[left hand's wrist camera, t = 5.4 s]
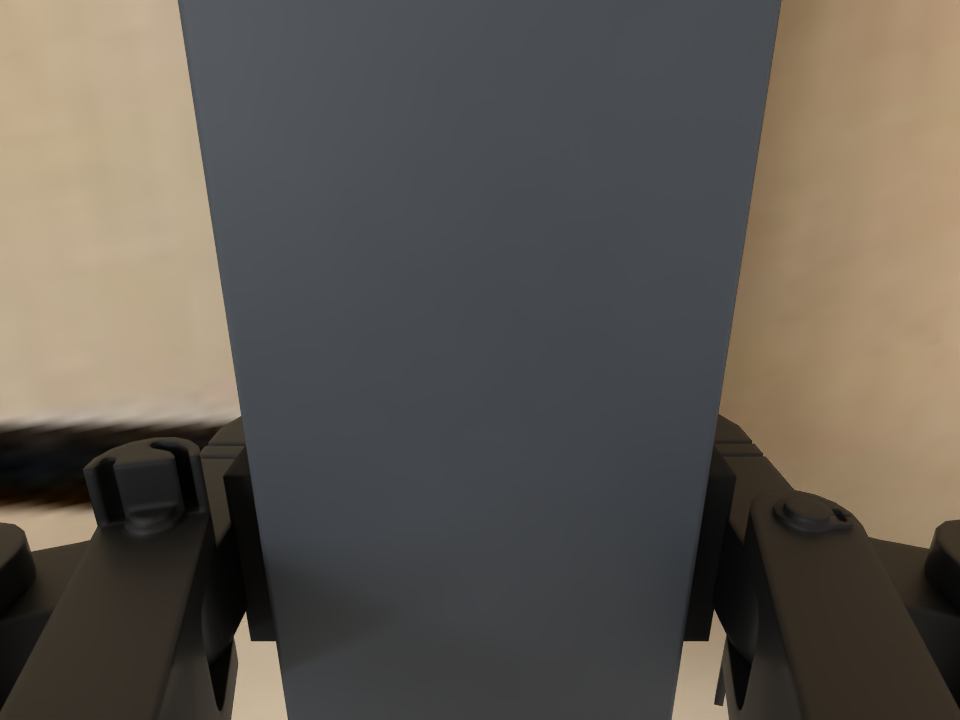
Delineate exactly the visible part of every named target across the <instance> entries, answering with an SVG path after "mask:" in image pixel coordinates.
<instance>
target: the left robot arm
mask: <svg viewBox="0 0 960 720" xmlns="http://www.w3.org/2000/svg"><path fill="white" fill-rule="evenodd" d="M83 472H84V476H85V480H86V484H87V487H88V491H89V495H90V499H91V503H92V506H93V510H94V514H95V518H96V521H97V525H98V527H97V529H96V531H95V533H94V534H93V536H92V538H91V540H88V541H84V542H80V543H75V544H70V545H65V546H59V547H54V548H49V549H43V550H38V551H33V552H31V551H30V548H29V545H28V541H27V538H26V535H25V532H24V531H23V530H22V529H21V528H19V527H18V526H16V525H15V524H8V523H0V720H231V715H232V708H233V700H234V692H235V685H236V677H237V669H238V658H237V651H236V646H235V640H234V634H235V632H236V630H237V628H238V626H239V624H240V622H241V620H242V618H243V616H244V614H245V612H246V614H247V620H248V626H249V632H250V637H251V641H276V637H275V631H274V624H273V618H272V611H271V605H270V598H269V592H268V585H267V579H266V572H265V566H264V559H263V553H262V546H261V540H260V533H259V526H258V520H257V513H256V507H255V500H254V494H253V487H252V481H251V474H250V468H249V461H248V455H247V448H246V442H245V435H244V429H243V422H242V416H241V417H239V418H237V419H236V420H234V421H232V422H230V423H229V424H227V425H225V426H224V427H222V428H221V429H220V430H219V431H218V432H217V433H216V434H215V436H214V437H213V438H212V439H211V440H210V441H209V443H208V446H205V447H204V448H203V450H202V451H201V452H200V451H199V446H197V445H196V444H194V443H193V442H192V441H190V440H186V439H181V438H176V437H163V438H150V439H145V440H140V441H134V442H131V443H128V444H125V445H122V446H119V447H116V448H113V449H111V450H109V451H107V452H105V453H103V454H101V455H99V456H98V457H96V458H94V459H93V460H92V461H91V462H90V463H89V464H88V465H87V466H86V467H85V468H83ZM714 609H715V611H716V613H717V616H718V618H719V620H720V622H721V624H722V626H723V628H724V630H725V632H726V634H727V635H726V640H725V646H724V651H723V657H722V662H721V668H720V673H719V678H718V684H717V689H716V696H715V702H714V704H715V705H720V706H723V702H724V697H725V693H726V698H727V706H728V714H729V720H960V520H953V521H945V522H944V523H943V524H941V525H940V526H938V527H937V528H936V530H935V533H934V536H933V540H932V543H931V546H930V549H926V548H921V547H916V546H910V545H905V544H900V543H894V542H889V541H884V540H879V539H875V538H871V537H868V535H867V533H866V531H865V530H864V528H863V526H862V524H861V523H860V522H859V521H858V520H857V519H856V518H855V516H854V515H853V514H852V513H851V512H849V511H847V510H846V509H844V508H843V507H841V506H840V505H838V504H837V503H835V502H832V501H830V500H827V499H825V498H822V497H820V496H817V495H814V494H810V493H805V492H801V491H796V490H794V489H793V488H792V487H791V486H790V484H789V483H788V482H787V481H786V480H785V479H784V477H783V476H782V475H781V474H780V473H779V472H778V471H777V469H776V468H775V467H774V466H773V465H772V464H771V462H770V461H769V460H768V459H767V458H766V457H763V453H762V452H761V451H760V450H759V449H758V447H757V446H756V445H755V444H752V440H751V439H750V438H749V437H748V436H747V435H746V433H745V432H744V431H743V430H742V429H741V428H740V426H738V425H737V424H735V423H733V422H731V421H730V420H728V419H726V418H724V417H723V416H721V415H719V414H718V418H717V424H716V431H715V437H714V444H713V450H712V457H711V464H710V470H709V477H708V483H707V490H706V496H705V503H704V509H703V516H702V522H701V529H700V535H699V542H698V549H697V555H696V562H695V568H694V575H693V581H692V588H691V594H690V601H689V607H688V614H687V620H686V627H685V634H684V640H683V641H709V635H710V629H711V623H712V618H713V612H714Z"/></svg>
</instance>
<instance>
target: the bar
mask: <svg viewBox="0 0 960 720" xmlns="http://www.w3.org/2000/svg"><path fill="white" fill-rule="evenodd" d="M178 4H179V11H180V17H181V24H182V30H183V37H184V44H185V50H186V57H187V63H188V70H189V76H190V83H191V89H192V96H193V102H194V109H195V115H196V122H197V128H198V135H199V141H200V148H201V154H202V161H203V168H204V174H205V181H206V187H207V194H208V200H209V207H210V213H211V220H212V226H213V233H214V239H215V246H216V252H217V259H218V265H219V272H220V278H221V285H222V292H223V298H224V305H225V311H226V318H227V324H228V331H229V337H230V344H231V350H232V357H233V363H234V370H235V376H236V383H237V389H238V396H239V402H240V409H241V416H242V422H243V429H244V435H245V442H246V448H247V455H248V461H249V468H250V474H251V481H252V487H253V494H254V500H255V507H256V513H257V520H258V526H259V533H260V540H261V546H262V553H263V559H264V566H265V572H266V579H267V585H268V592H269V598H270V605H271V611H272V618H273V624H274V631H275V637H276V644H277V650H278V657H279V664H280V670H281V677H282V683H283V690H284V696H285V703H286V709H287V716H288V720H671V719H672V712H673V705H674V699H675V692H676V686H677V679H678V673H679V666H680V660H681V653H682V647H683V640H684V634H685V627H686V620H687V614H688V607H689V601H690V594H691V588H692V581H693V575H694V568H695V562H696V555H697V549H698V542H699V535H700V529H701V522H702V516H703V509H704V503H705V496H706V490H707V483H708V477H709V470H710V464H711V457H712V450H713V444H714V437H715V431H716V424H717V418H718V411H719V405H720V398H721V392H722V385H723V379H724V372H725V365H726V359H727V352H728V346H729V339H730V333H731V326H732V320H733V313H734V307H735V300H736V293H737V287H738V280H739V274H740V267H741V261H742V254H743V248H744V241H745V235H746V228H747V222H748V215H749V208H750V202H751V195H752V189H753V182H754V176H755V169H756V163H757V156H758V150H759V143H760V137H761V130H762V123H763V117H764V110H765V104H766V97H767V91H768V84H769V78H770V71H771V65H772V58H773V52H774V45H775V38H776V32H777V25H778V19H779V12H780V6H781V0H178Z"/></svg>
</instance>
